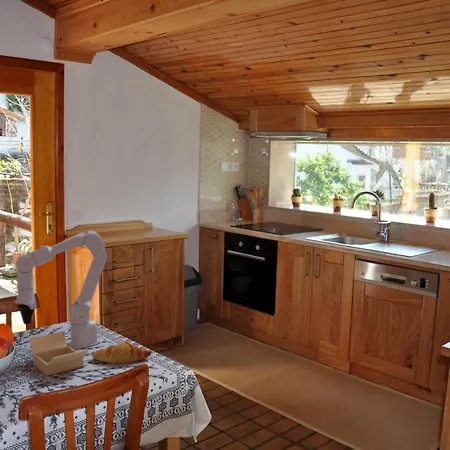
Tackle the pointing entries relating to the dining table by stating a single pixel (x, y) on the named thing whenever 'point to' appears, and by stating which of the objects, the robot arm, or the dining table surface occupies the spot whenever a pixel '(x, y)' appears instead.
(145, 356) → the croissant
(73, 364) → the carton
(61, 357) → the flap
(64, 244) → the robot arm
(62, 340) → the flap
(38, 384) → the dining table surface
